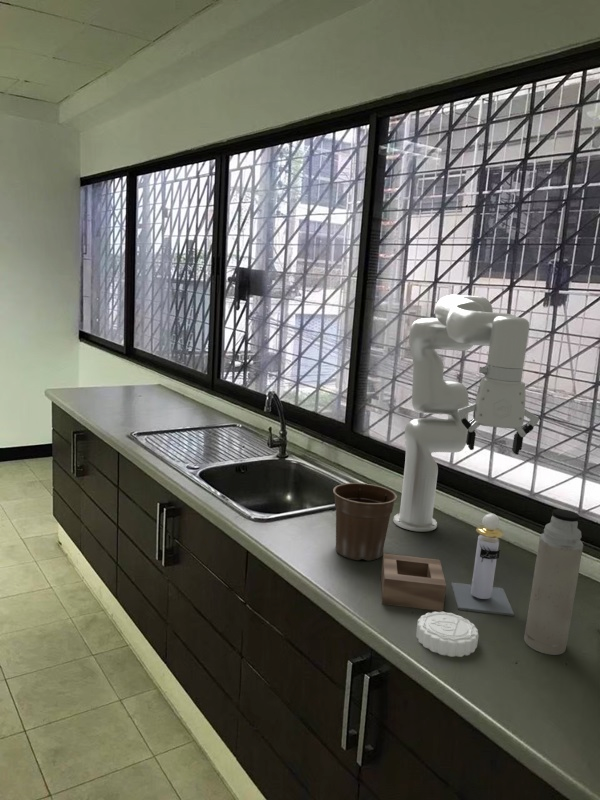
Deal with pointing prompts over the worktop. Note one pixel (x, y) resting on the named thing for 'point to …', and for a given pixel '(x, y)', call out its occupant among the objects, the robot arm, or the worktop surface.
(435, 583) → the frame
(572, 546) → the thermos bottle
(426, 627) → the mooncake
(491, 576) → the perfume bottle
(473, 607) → the mat
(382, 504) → the plant pot
